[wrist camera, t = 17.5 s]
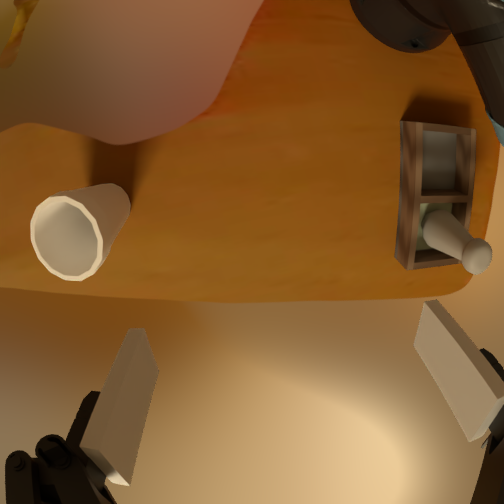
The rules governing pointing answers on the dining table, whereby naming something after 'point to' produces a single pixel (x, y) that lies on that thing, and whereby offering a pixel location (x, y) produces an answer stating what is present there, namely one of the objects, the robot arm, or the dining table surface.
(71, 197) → the foam cup
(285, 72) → the dining table surface
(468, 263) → the salt shaker
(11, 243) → the dining table surface
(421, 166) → the wooden compartment tray
